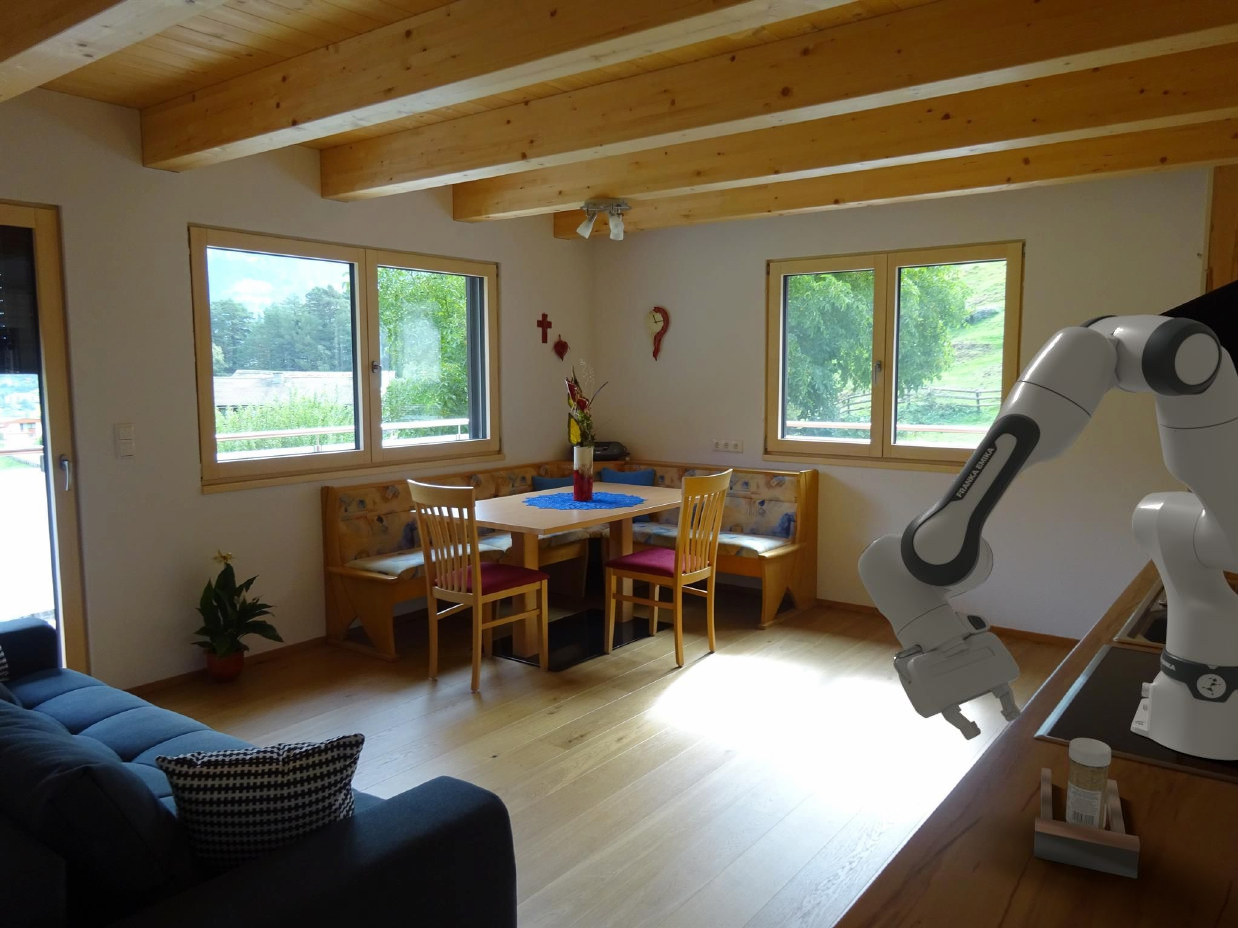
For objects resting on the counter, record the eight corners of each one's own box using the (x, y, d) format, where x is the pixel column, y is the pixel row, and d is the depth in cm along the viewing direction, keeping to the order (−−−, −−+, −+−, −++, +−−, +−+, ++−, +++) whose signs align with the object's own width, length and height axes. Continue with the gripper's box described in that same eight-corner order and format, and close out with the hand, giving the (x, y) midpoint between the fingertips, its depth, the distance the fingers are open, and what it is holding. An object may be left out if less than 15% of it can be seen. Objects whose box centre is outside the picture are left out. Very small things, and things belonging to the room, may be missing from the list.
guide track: (1034, 779, 131) (1036, 751, 131) (1122, 795, 127) (1124, 766, 126) (1033, 856, 111) (1035, 824, 111) (1137, 878, 107) (1140, 845, 106)
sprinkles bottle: (1110, 849, 113) (1118, 745, 111) (1091, 861, 110) (1099, 755, 109) (1074, 833, 117) (1081, 733, 115) (1055, 844, 114) (1062, 742, 112)
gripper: (902, 643, 121) (964, 738, 115) (991, 614, 133) (1052, 699, 127) (874, 665, 126) (933, 758, 119) (963, 635, 137) (1021, 719, 131)
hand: (995, 727), depth 123 cm, fingers open, 8 cm apart
